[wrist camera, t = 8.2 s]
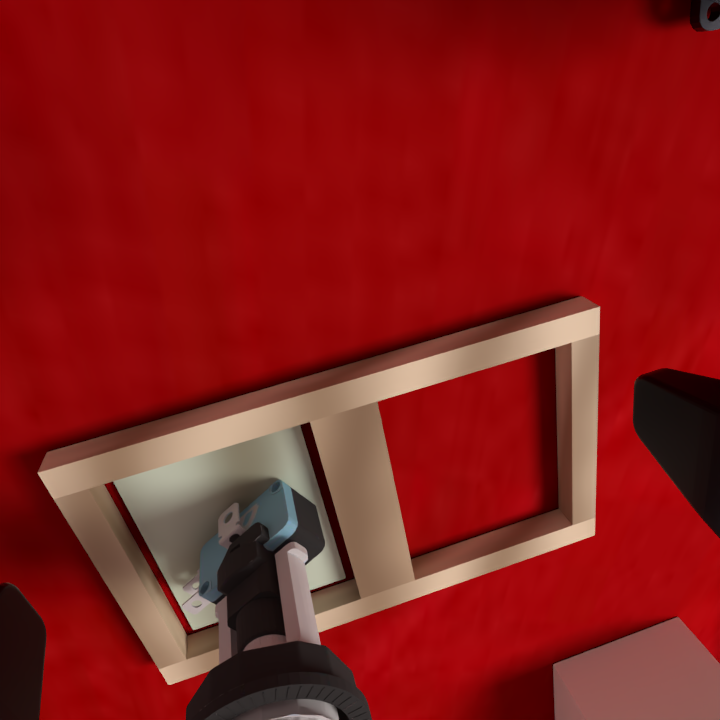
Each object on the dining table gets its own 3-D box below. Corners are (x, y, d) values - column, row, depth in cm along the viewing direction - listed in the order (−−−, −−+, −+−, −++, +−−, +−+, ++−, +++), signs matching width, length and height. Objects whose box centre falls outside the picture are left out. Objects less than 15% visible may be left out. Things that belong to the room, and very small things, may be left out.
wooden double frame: (581, 296, 22) (599, 306, 21) (580, 518, 28) (594, 535, 27) (46, 452, 19) (37, 472, 18) (170, 660, 25) (168, 685, 24)
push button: (233, 606, 25) (246, 889, 16) (135, 553, 22) (87, 856, 13) (343, 513, 24) (419, 759, 15) (254, 447, 21) (285, 696, 12)
